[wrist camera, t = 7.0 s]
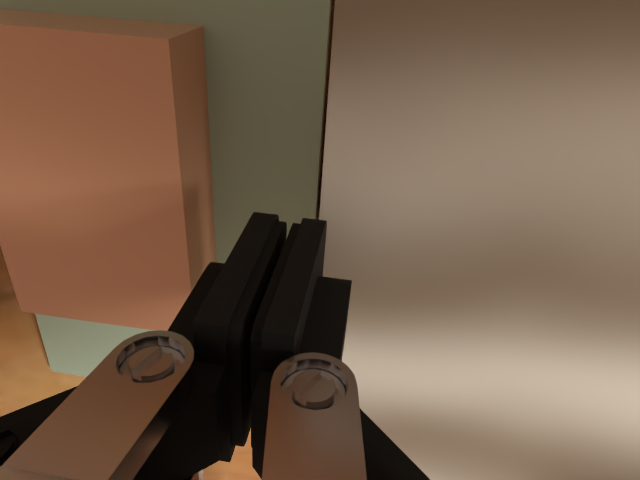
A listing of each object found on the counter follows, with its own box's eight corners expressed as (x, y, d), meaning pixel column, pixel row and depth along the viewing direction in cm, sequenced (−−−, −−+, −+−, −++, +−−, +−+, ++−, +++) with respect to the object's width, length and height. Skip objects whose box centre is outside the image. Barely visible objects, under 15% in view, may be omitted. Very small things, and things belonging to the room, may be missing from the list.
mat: (-115, -257, 12) (-130, -263, 11) (348, -236, 11) (347, -242, 11) (56, 364, 22) (51, 371, 22) (303, 403, 21) (302, 410, 21)
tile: (168, 39, 12) (203, 25, 14) (-71, 18, 12) (-3, 8, 14) (195, 336, 16) (218, 292, 18) (20, 311, 17) (62, 272, 19)
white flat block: (371, -235, 11) (357, -321, 7) (981, -208, 10) (1295, -293, 6) (315, 404, 21) (299, 493, 18) (612, 450, 20) (656, 554, 16)
